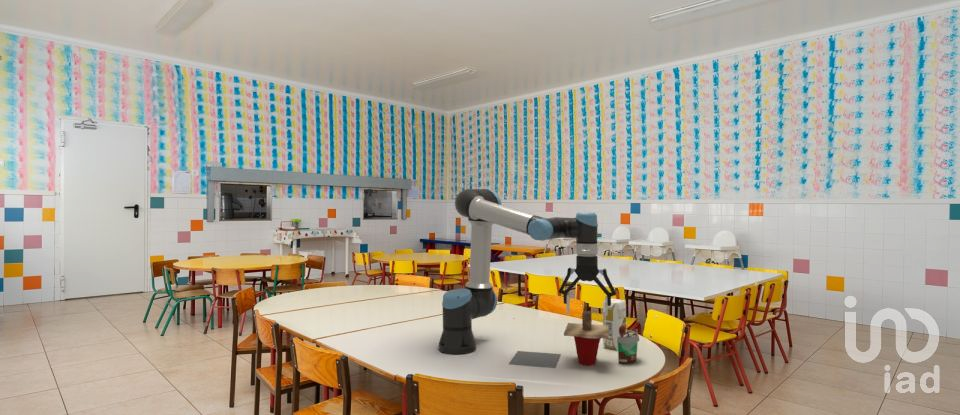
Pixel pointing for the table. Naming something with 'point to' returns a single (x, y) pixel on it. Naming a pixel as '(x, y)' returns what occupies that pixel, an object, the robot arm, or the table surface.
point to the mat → (535, 359)
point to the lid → (587, 328)
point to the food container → (627, 347)
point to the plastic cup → (587, 350)
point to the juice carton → (614, 322)
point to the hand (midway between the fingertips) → (587, 313)
